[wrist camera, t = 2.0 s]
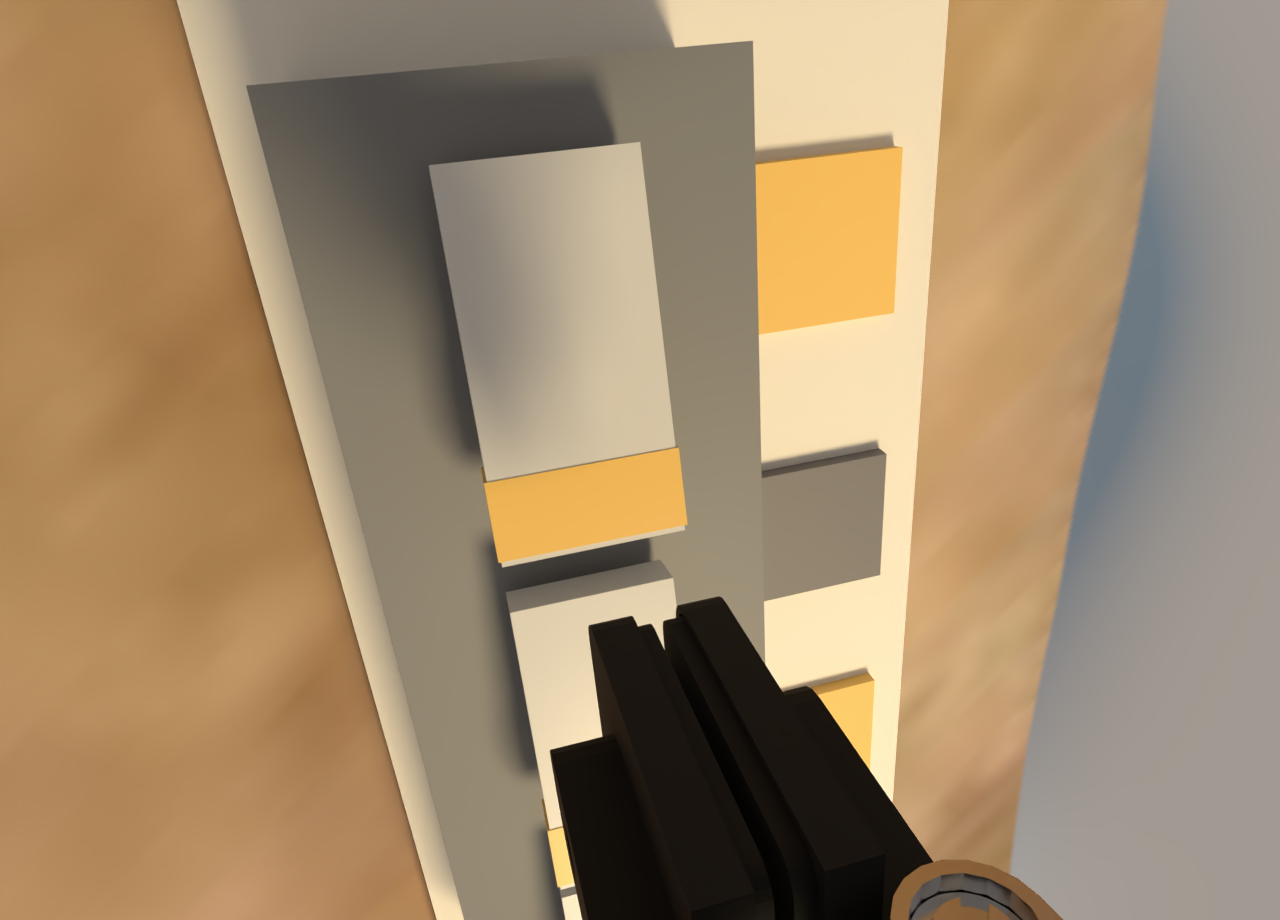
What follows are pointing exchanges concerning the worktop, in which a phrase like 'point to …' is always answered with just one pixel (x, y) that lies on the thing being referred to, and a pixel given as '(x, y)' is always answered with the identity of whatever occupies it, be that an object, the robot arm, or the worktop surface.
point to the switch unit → (691, 326)
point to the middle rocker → (575, 663)
